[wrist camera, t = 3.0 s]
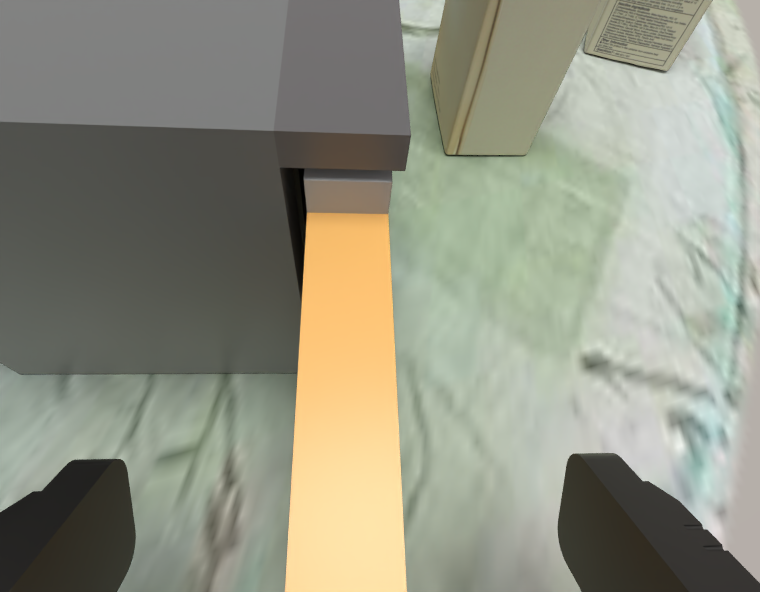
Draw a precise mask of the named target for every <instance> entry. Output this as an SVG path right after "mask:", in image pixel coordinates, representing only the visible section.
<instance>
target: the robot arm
mask: <svg viewBox="0 0 760 592" xmlns="http://www.w3.org/2000/svg"><path fill="white" fill-rule="evenodd" d="M558 538H559V543H560V548H561V551H562V554H563V557H564V559H565V561H566V563H567V565H568V567H569V569H570V571H571V573H572V574H573V576H574V578H575V580H576V582H577V584H578V585H579V587H580V589H581V591H582V592H760V583H759V582H758V581H757V580H756V579H755V578H754V577H753V576H752V575H751V574H750V573H749V572H748V571H747V570H746V569H745V568H744V567H743V566H742V565H741V564H740V563H739V562H738V561H737V560H736V559H735V558H734V557H733V555H732V554H731V553H730V552H729V551H724V550H723V547H722V544H721V543H720V542H719V541H718V540H717V539H716V538H715V537H714V536H713V535H712V534H711V533H710V532H709V531H708V530H704V529H703V527H702V524H701V523H700V522H699V521H698V520H697V519H696V518H695V517H694V516H693V515H692V514H691V513H690V512H689V511H688V510H687V509H686V508H685V507H684V506H683V505H682V503H681V502H680V501H678V500H677V499H675V498H674V497H672V496H671V495H669V494H667V493H666V492H664V491H663V490H661V489H660V488H658V487H657V486H655V485H653V484H652V483H650V482H649V481H642V480H641V479H640V478H639V477H638V476H637V475H636V474H635V472H634V471H633V470H632V469H631V468H630V467H629V466H628V465H627V464H626V463H625V462H624V461H623V460H622V458H621V457H619V456H618V455H617V454H614V453H588V454H572V455H571V456H570V457H569V459H568V462H567V466H566V472H565V479H564V486H563V492H562V499H561V506H560V512H559V519H558ZM135 539H136V533H135V524H134V517H133V509H132V502H131V494H130V487H129V480H128V472H127V467H126V465H125V463H124V461H123V460H121V459H91V460H73V461H71V462H69V463H68V464H67V465H66V466H65V467H64V468H63V469H62V470H61V471H60V472H59V473H58V474H57V475H56V477H55V478H54V479H53V480H52V481H51V482H50V483H49V484H48V485H47V486H46V487H45V488H44V489H43V490H42V491H36V492H32V493H30V494H29V495H27V496H26V497H24V498H22V499H21V500H19V501H18V502H16V503H15V504H13V505H11V506H10V507H8V508H7V509H5V510H4V511H2V512H0V592H117V590H118V589H119V587H120V585H121V583H122V581H123V579H124V578H125V576H126V574H127V572H128V570H129V567H130V564H131V561H132V558H133V554H134V548H135Z"/></svg>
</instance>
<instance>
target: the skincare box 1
mask: <svg viewBox="0 0 760 592" xmlns="http://www.w3.org/2000/svg"><path fill="white" fill-rule="evenodd" d="M600 3H601V0H446V1H445V5H444V10H443V15H442V20H441V25H440V30H439V35H438V40H437V44H436V49H435V54H434V59H433V64H432V69H431V81H432V87H433V93H434V99H435V104H436V109H437V115H438V120H439V126H440V131H441V136H442V141H443V145H444V150H445V153H446V154H448V155H526V154H527V153H528V151H529V149H530V147H531V144H532V142H533V140H534V138H535V136H536V134H537V132H538V130H539V128H540V126H541V124H542V122H543V120H544V118H545V116H546V113H547V111H548V109H549V107H550V105H551V103H552V101H553V99H554V97H555V95H556V93H557V91H558V89H559V87H560V85H561V83H562V81H563V79H564V76H565V74H566V72H567V70H568V68H569V66H570V64H571V62H572V60H573V58H574V56H575V54H576V52H577V50H578V48H579V46H580V43H581V41H582V39H583V37H584V35H585V33H586V31H587V29H588V27H589V25H590V23H591V21H592V19H593V17H594V15H595V13H596V11H597V9H598V7H599V5H600Z"/></svg>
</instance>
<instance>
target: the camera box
mask: <svg viewBox="0 0 760 592" xmlns="http://www.w3.org/2000/svg"><path fill="white" fill-rule="evenodd" d="M410 138H411V131H410V120H409V109H408V97H407V86H406V74H405V63H404V52H403V40H402V29H401V17H400V6H399V0H0V363H2V364H3V365H5V366H7V367H8V368H10V369H12V370H14V371H15V372H17V373H19V374H192V373H298V360H299V343H300V325H301V308H302V291H303V274H304V257H305V240H306V222H307V207H306V197H305V187H304V170H305V168H317V169H353V170H389V171H405V169H406V163H407V156H408V150H409V144H410Z"/></svg>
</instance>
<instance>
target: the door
mask: <svg viewBox="0 0 760 592" xmlns="http://www.w3.org/2000/svg"><path fill="white" fill-rule="evenodd" d="M304 187H305V197H306V207H307V222H306V240H305V257H304V274H303V291H302V308H301V325H300V343H299V360H298V377H297V394H296V411H295V429H294V446H293V463H292V480H291V497H290V514H289V532H288V549H287V566H286V583H285V592H407V588H406V567H405V547H404V526H403V506H402V485H401V465H400V444H399V424H398V404H397V383H396V363H395V342H394V322H393V301H392V281H391V260H390V240H389V219H388V212H389V205H390V197H391V189H392V171H389V170H353V169H317V168H305V170H304Z"/></svg>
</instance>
